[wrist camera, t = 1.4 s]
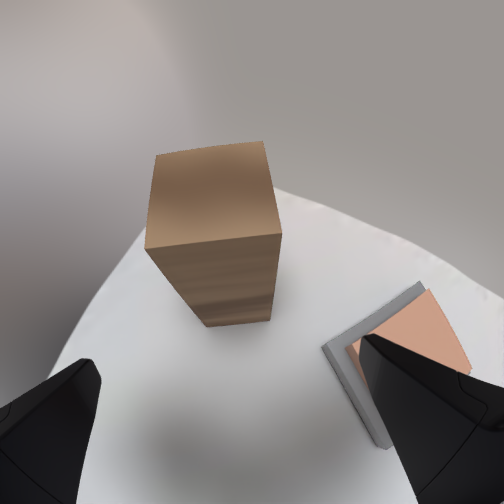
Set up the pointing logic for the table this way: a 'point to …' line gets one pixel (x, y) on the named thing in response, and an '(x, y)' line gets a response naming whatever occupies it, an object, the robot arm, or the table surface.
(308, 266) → the table surface
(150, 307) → the table surface
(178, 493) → the table surface
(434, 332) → the pedestal
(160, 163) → the walnut post
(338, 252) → the table surface
